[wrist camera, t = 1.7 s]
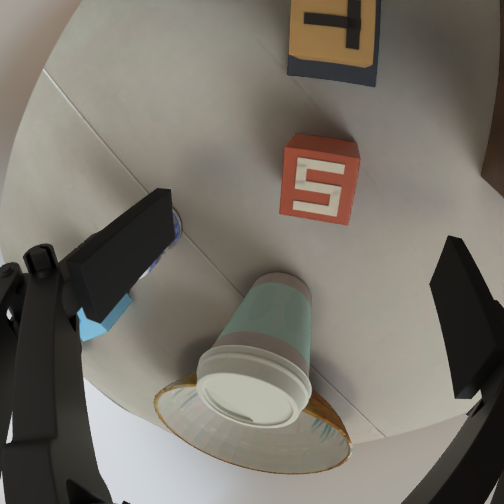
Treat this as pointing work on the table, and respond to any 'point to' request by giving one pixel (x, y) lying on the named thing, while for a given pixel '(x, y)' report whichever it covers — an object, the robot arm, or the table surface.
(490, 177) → the word stand
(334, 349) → the table surface
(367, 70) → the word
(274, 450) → the bowl
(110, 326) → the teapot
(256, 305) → the coffee cup
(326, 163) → the block
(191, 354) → the table surface
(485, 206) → the table surface
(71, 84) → the table surface
